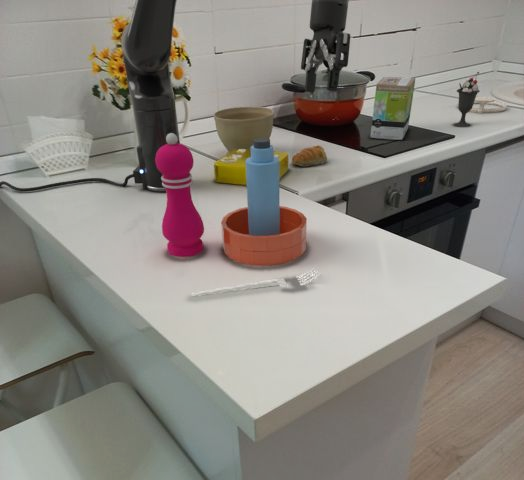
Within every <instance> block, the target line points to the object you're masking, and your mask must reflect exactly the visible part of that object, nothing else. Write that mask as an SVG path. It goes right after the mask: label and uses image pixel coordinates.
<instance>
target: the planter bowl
mask: <svg viewBox="0 0 524 480" xmlns="http://www.w3.org/2000/svg"><path fill="white" fill-rule="evenodd" d="M274 117H275V111H274V109H271V108H269V107H264V106H235V107H229V108H222V109H220V110H217V111H215V112H214V113H213V120H214V123H215V129H216V133H217V135H218V137H219V140H220V142H221V143H222V145H223V146H224V147H225V149H226V150H227V152H228V153H230V152H231V151H233V150H235V149H251V146H253V145H254V139H258V138H267V139H270V138H271V136H272V132H273V127H274Z"/></svg>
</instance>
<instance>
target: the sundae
mask: <svg viewBox="0 0 524 480" xmlns="http://www.w3.org/2000/svg"><path fill="white" fill-rule="evenodd" d="M479 74H480V71H477V72H476V75H475V78H477V76H478V75H479ZM477 83H478V80H477V79H474V77H470V78H469V79H468V80H465V81H464V83H462V84H461V82H459V87H460V88H458V89H457V90H456V92H457V93H458V104H457V109H458V111H459V112H460V113H461V116H460V120H459V121H458V122H455V123H453V126H455V127H459V128H466V127H467V128H468V127H470V126H471V124H470V123H467V122H466V116H467V114H468V113H469V112H471V111H470V110H471V109H472V108H474V101H475V98H476V97H477V95H478V94H479V93H480V91H481V90H479V85H478V84H477Z"/></svg>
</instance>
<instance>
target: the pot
mask: <svg viewBox="0 0 524 480" xmlns="http://www.w3.org/2000/svg"><path fill="white" fill-rule="evenodd" d="M307 220H308V219H307V217H306V216H305V214H303V213H302V212H301V211H299V210H297V209H296V208H292V207H289V206H283V205H280V234H278V235H270V236H252V235H249V225H248V206H245V207H241V208H237V209H235V210H233V211H231V212H228V213H227V214H226V215H224V216H223V217H222V220H221V222H220V227H221V228H220V229H221V239H222V249H223V252H224V255H225V256H226V257H227V258H228V259H230V260H232V261H234V262H236V263H240V264H243V265H249V266H260V267H263V266H265V267H266V266H277V265H282V264H286V263H289V262H293V261H294V260H296V259H298V258H300V257H301V256H302V255H303V254H304V253H305V252H306V250H307V225H308V224H307Z"/></svg>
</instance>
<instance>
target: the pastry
mask: <svg viewBox="0 0 524 480" xmlns="http://www.w3.org/2000/svg"><path fill="white" fill-rule="evenodd" d="M291 157H292V158H291V164H293V165H295V166H299V167H303V168H306V167H312V166H318V165H320V164H321V165H323V164H324V163H326V161H327V160H328V155H327V153H326V151H325V148H324V147H323V146H321V145H313V146H312V147H311V146H309V147H305V148H303V149H301V150H300V151H299V152H296V153H295V154H294V155H293V156H291Z"/></svg>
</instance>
